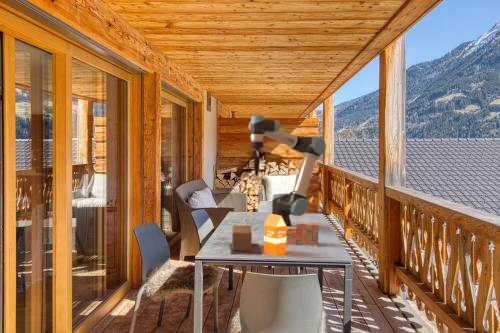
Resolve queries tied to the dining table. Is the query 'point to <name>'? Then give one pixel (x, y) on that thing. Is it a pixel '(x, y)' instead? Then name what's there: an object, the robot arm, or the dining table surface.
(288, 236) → the stack of blocks
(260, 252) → the mat
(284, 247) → the orange juice
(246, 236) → the wooden block
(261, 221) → the dining table surface
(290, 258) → the dining table surface
